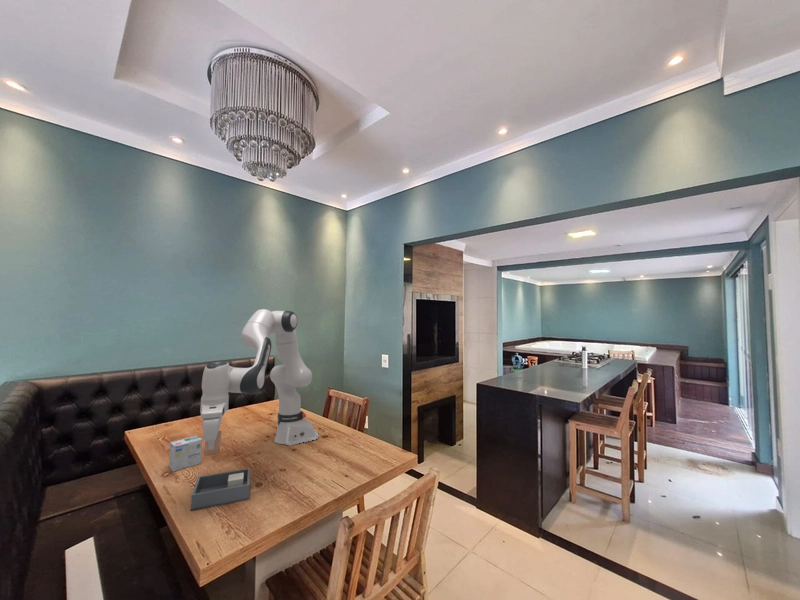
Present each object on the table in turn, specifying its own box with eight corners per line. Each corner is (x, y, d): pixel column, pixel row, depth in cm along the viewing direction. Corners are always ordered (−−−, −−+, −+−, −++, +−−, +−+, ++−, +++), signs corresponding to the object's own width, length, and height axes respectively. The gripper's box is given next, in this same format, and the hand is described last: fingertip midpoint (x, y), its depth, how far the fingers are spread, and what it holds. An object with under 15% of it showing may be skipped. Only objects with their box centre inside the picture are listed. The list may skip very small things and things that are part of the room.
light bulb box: (196, 459, 142) (197, 434, 143) (201, 463, 138) (203, 438, 139) (168, 467, 134) (169, 441, 135) (172, 472, 130) (174, 445, 131)
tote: (249, 481, 124) (250, 468, 124) (248, 499, 112) (249, 484, 112) (197, 490, 117) (198, 476, 117) (190, 511, 104) (191, 495, 105)
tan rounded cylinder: (205, 451, 115) (206, 431, 115) (220, 449, 117) (221, 429, 117) (203, 456, 110) (204, 436, 111) (219, 454, 112) (220, 434, 113)
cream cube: (228, 488, 117) (228, 474, 118) (243, 485, 119) (243, 472, 120) (227, 495, 113) (227, 481, 113) (242, 492, 115) (243, 478, 115)
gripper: (208, 400, 123) (206, 436, 122) (200, 415, 104) (197, 458, 103) (226, 399, 125) (225, 434, 124) (221, 413, 107) (219, 454, 106)
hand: (212, 445), depth 114 cm, fingers closed on tan rounded cylinder, 5 cm apart
